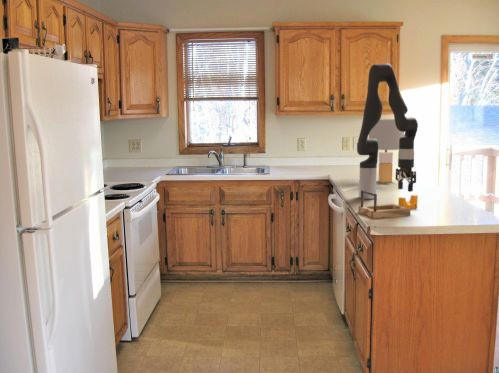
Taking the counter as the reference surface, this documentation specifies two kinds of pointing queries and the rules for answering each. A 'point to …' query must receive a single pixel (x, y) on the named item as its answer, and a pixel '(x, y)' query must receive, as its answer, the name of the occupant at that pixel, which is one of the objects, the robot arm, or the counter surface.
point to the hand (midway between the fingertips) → (405, 190)
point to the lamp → (386, 146)
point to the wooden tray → (382, 208)
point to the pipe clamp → (408, 202)
